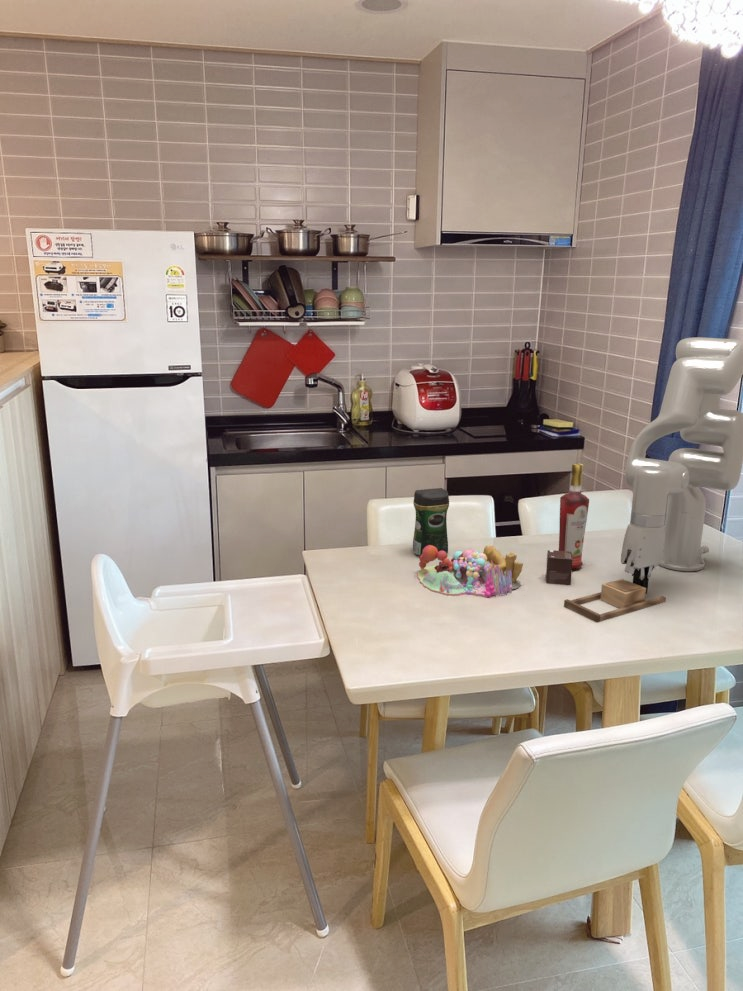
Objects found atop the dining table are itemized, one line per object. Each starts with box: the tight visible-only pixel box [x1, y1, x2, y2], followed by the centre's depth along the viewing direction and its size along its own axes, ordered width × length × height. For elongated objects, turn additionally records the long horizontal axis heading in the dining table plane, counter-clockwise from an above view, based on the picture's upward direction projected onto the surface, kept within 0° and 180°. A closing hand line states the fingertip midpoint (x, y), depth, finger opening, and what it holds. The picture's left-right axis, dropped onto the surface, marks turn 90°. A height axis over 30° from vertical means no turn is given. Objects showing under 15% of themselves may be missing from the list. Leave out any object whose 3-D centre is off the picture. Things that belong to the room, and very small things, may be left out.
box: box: [545, 549, 573, 586], centre depth 193 cm, size 6×6×7 cm
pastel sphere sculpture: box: [417, 545, 524, 598], centre depth 192 cm, size 25×24×9 cm
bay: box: [563, 591, 667, 623], centre depth 179 cm, size 23×10×2 cm, turn 121°
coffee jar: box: [412, 487, 450, 557], centre depth 210 cm, size 10×8×19 cm
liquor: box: [558, 462, 590, 571], centre depth 200 cm, size 7×7×28 cm
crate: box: [599, 578, 647, 609], centre depth 180 cm, size 7×7×4 cm
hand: (639, 592), depth 183 cm, fingers closed
